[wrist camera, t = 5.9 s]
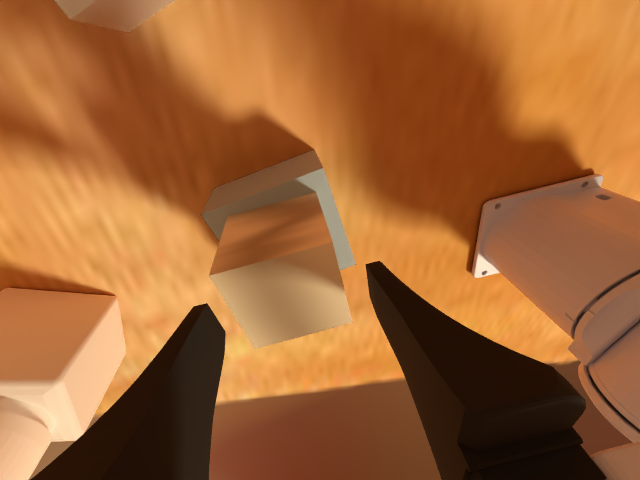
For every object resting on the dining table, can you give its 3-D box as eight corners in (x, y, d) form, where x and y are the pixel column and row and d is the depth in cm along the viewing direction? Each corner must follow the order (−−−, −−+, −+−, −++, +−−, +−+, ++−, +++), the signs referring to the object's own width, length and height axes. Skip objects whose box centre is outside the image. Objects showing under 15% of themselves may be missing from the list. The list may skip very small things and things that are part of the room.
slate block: (313, 148, 17) (323, 167, 14) (343, 233, 21) (356, 264, 18) (214, 187, 18) (200, 215, 14) (261, 263, 21) (259, 299, 18)
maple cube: (315, 191, 15) (332, 242, 10) (333, 261, 17) (352, 322, 13) (227, 216, 15) (209, 275, 10) (259, 281, 17) (254, 349, 13)
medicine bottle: (31, 347, 22) (-161, 571, 13) (4, 284, 19) (-294, 526, 9) (128, 350, 24) (27, 547, 14) (119, 294, 21) (-22, 502, 11)
